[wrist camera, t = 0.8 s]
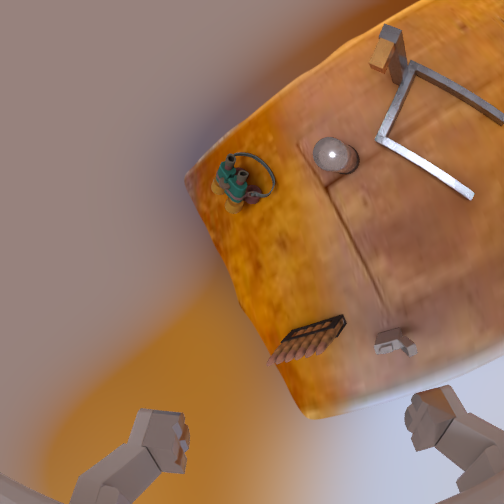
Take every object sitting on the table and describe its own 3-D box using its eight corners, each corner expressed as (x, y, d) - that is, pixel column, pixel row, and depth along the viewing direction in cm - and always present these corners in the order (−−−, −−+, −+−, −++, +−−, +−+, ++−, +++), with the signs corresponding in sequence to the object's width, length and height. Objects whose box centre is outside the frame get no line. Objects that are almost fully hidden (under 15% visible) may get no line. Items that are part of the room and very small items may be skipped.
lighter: (380, 342, 46) (372, 367, 40) (377, 333, 46) (369, 357, 40) (419, 331, 42) (417, 355, 36) (416, 322, 42) (415, 345, 36)
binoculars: (245, 162, 55) (199, 182, 51) (259, 129, 47) (207, 148, 43) (275, 200, 54) (230, 224, 49) (294, 170, 45) (243, 194, 41)
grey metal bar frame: (402, 61, 35) (390, 10, 22) (503, 119, 29) (538, 90, 15) (367, 137, 41) (343, 114, 28) (468, 199, 35) (494, 206, 22)
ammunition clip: (295, 338, 55) (264, 371, 45) (291, 330, 55) (259, 361, 45) (346, 323, 49) (325, 358, 39) (342, 314, 49) (320, 347, 39)
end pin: (338, 140, 43) (321, 130, 36) (364, 153, 42) (352, 146, 34) (326, 165, 45) (306, 161, 38) (351, 179, 44) (337, 178, 36)
